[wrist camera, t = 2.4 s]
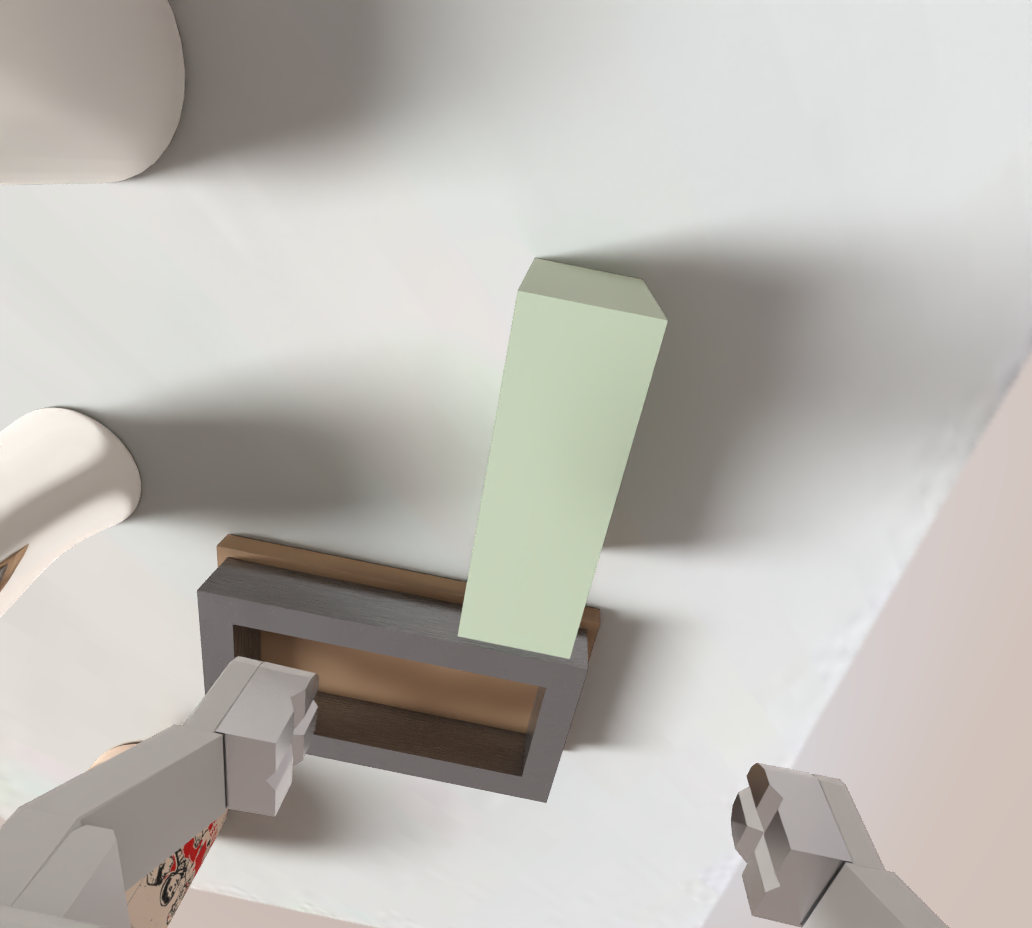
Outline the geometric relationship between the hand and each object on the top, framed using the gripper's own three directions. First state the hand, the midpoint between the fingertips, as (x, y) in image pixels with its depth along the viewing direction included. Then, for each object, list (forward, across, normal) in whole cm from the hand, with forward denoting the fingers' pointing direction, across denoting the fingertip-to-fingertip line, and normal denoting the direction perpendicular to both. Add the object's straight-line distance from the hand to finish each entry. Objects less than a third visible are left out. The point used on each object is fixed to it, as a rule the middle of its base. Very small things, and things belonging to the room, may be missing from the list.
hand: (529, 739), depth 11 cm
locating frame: (+15, +5, +13) cm, 21 cm away
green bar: (+15, 0, -1) cm, 15 cm away
